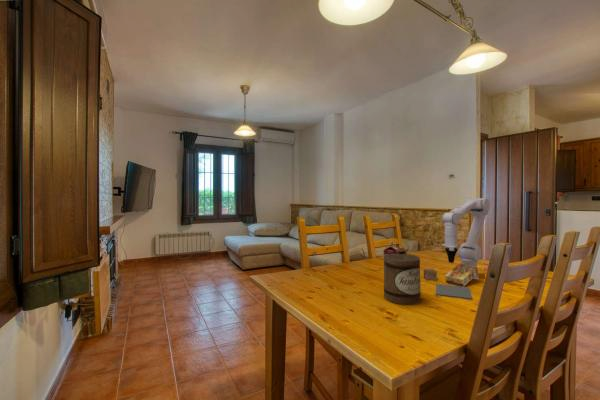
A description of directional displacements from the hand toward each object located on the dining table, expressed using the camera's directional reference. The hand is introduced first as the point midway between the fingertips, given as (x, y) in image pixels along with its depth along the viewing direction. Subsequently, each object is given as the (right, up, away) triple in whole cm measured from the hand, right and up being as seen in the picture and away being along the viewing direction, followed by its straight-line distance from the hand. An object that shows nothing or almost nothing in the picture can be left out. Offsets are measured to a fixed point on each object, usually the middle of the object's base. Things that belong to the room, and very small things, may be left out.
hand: (451, 262), depth 143 cm
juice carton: (-33, -11, -8) cm, 36 cm away
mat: (-7, -10, -15) cm, 19 cm away
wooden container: (-33, -11, -22) cm, 42 cm away
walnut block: (-8, -10, +5) cm, 14 cm away
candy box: (-2, -8, -5) cm, 10 cm away
